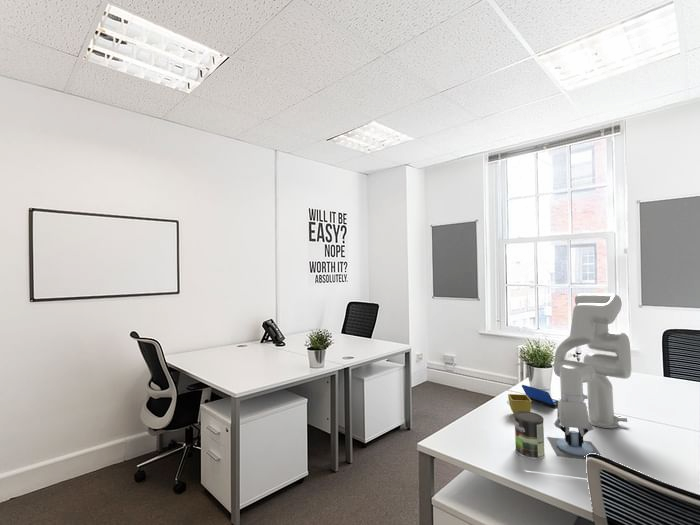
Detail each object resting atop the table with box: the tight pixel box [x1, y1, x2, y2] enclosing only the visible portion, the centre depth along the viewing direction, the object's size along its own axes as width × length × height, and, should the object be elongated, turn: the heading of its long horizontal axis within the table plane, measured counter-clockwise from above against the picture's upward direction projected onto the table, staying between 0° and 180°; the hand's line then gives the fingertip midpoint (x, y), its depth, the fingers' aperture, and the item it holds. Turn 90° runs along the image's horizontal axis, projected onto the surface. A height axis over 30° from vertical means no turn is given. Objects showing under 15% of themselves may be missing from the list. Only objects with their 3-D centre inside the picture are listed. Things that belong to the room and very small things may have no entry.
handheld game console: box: [521, 384, 559, 409], centre depth 186 cm, size 16×13×9 cm
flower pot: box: [507, 393, 532, 415], centre depth 170 cm, size 9×9×9 cm
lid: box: [557, 430, 593, 456], centre depth 137 cm, size 12×12×6 cm
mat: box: [546, 436, 602, 460], centre depth 137 cm, size 16×16×1 cm
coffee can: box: [513, 411, 546, 460], centre depth 136 cm, size 10×10×14 cm
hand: (574, 444), depth 137 cm, fingers closed on lid, 3 cm apart
